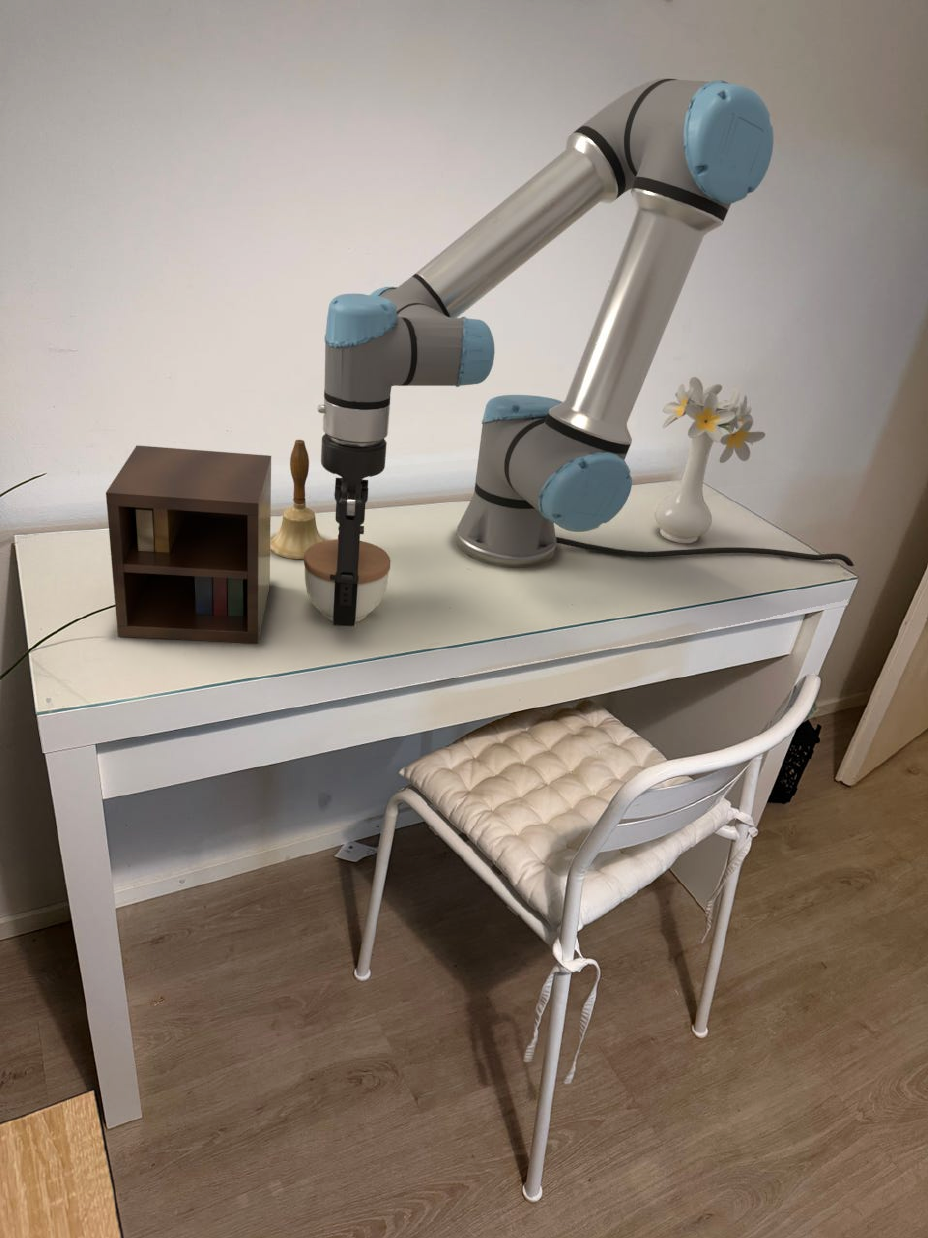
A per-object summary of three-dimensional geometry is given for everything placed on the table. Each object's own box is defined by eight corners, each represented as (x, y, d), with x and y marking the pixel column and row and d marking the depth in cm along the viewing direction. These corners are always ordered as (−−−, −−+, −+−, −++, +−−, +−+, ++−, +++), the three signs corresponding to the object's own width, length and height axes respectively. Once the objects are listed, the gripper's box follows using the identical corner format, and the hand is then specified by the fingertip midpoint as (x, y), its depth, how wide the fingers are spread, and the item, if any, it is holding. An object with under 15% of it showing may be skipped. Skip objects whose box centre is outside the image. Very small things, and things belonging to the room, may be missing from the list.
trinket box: (372, 639, 112) (378, 571, 108) (289, 622, 114) (291, 554, 109) (395, 600, 122) (401, 536, 117) (318, 585, 123) (321, 520, 118)
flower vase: (691, 566, 142) (733, 409, 130) (617, 519, 155) (649, 372, 143) (750, 556, 148) (796, 405, 136) (674, 511, 162) (709, 370, 149)
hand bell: (289, 564, 127) (292, 455, 119) (258, 541, 132) (258, 435, 124) (338, 552, 132) (344, 446, 124) (307, 530, 137) (310, 427, 129)
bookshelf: (269, 584, 121) (271, 455, 113) (258, 643, 109) (258, 503, 100) (144, 577, 119) (136, 445, 110) (117, 636, 106) (105, 492, 98)
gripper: (326, 403, 116) (319, 559, 126) (317, 469, 96) (310, 648, 106) (385, 408, 117) (374, 562, 127) (388, 474, 97) (374, 651, 107)
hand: (344, 601), depth 117 cm, fingers closed on trinket box, 11 cm apart
